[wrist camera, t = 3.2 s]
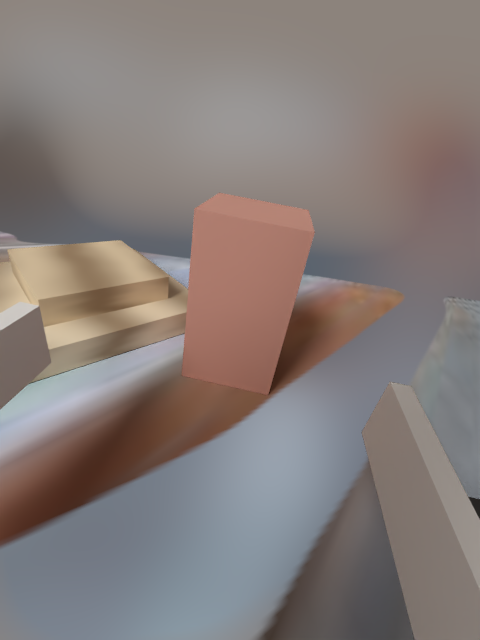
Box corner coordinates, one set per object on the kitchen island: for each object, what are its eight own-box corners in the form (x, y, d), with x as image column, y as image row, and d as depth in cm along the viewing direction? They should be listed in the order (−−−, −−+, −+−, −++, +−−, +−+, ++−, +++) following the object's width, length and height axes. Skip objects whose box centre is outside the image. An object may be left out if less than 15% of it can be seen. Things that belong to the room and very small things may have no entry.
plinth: (134, 265, 34) (133, 230, 32) (207, 325, 26) (212, 284, 24) (-24, 287, 25) (-39, 241, 23) (12, 388, 17) (-6, 331, 15)
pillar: (272, 344, 25) (308, 210, 20) (268, 395, 20) (314, 232, 15) (203, 329, 26) (219, 192, 20) (181, 375, 20) (194, 208, 15)
